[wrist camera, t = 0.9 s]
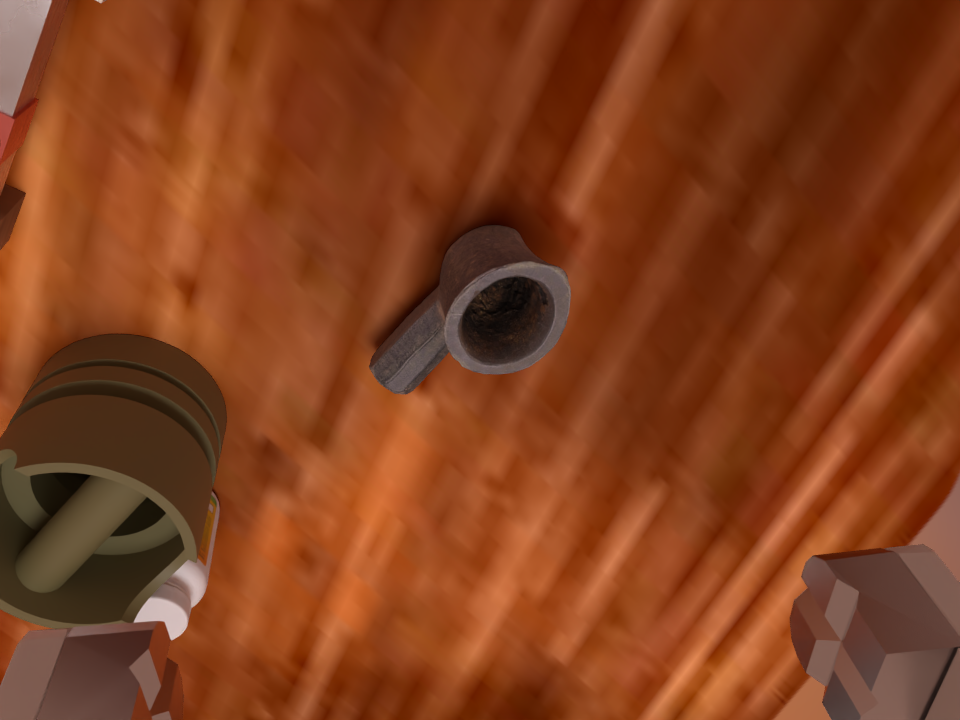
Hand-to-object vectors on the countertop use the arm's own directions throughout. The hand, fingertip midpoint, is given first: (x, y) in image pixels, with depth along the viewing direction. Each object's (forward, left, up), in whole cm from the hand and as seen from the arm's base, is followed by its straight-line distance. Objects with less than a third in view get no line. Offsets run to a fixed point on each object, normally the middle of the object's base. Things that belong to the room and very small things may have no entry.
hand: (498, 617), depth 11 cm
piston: (+27, -3, -37) cm, 46 cm away
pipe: (+11, +10, -38) cm, 40 cm away
